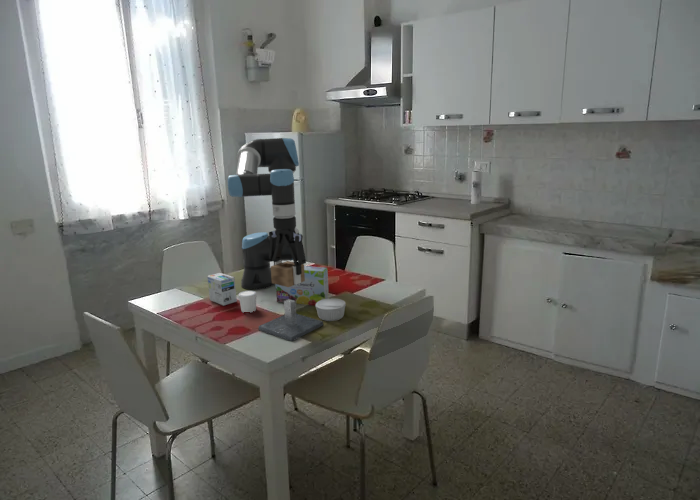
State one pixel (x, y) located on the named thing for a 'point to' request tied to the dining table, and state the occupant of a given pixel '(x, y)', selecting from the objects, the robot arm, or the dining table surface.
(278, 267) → the walnut collar
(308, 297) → the snack box
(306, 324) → the shaft plate
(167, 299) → the dining table surface
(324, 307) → the ramekin
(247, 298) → the white tapered pot
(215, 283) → the light bulb box
